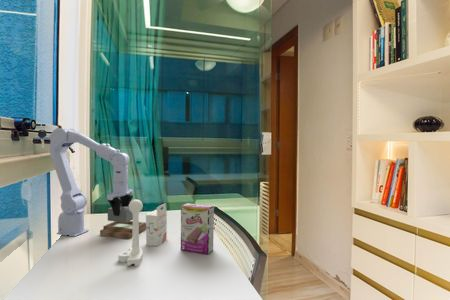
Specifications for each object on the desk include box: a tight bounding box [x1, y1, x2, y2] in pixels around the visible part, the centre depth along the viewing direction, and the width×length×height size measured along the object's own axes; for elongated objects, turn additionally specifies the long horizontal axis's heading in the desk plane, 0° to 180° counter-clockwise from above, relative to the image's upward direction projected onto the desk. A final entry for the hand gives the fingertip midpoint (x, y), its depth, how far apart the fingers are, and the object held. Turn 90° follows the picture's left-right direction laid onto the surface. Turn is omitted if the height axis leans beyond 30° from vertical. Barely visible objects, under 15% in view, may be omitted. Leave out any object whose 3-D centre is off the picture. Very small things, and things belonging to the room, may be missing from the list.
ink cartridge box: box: [145, 202, 168, 247], centre depth 110 cm, size 9×5×15 cm, turn 168°
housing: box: [107, 205, 133, 223], centre depth 119 cm, size 9×5×6 cm, turn 74°
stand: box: [99, 220, 146, 240], centre depth 122 cm, size 14×14×3 cm
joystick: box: [117, 198, 144, 267], centre depth 93 cm, size 11×8×20 cm
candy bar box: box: [180, 202, 215, 255], centre depth 102 cm, size 11×5×16 cm, turn 71°
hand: (120, 213), depth 119 cm, fingers closed on housing, 5 cm apart
